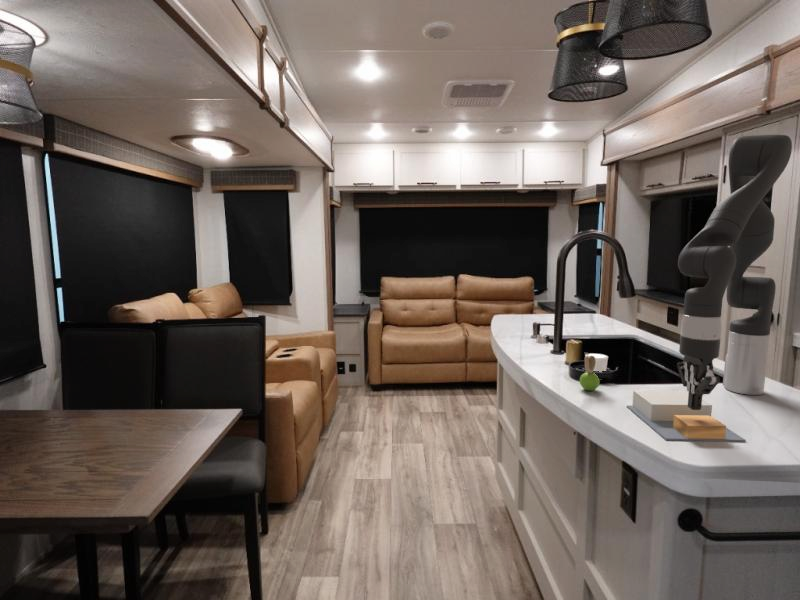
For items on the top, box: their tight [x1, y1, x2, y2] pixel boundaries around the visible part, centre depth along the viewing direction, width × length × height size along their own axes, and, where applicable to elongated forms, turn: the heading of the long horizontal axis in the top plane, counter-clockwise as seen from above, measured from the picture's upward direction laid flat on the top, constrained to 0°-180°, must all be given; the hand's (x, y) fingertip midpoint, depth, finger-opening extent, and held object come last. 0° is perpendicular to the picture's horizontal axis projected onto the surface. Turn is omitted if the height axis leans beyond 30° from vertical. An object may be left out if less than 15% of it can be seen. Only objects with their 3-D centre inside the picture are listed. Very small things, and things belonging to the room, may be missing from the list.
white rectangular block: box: [632, 390, 713, 421], centre depth 114 cm, size 10×14×4 cm
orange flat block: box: [673, 415, 727, 439], centre depth 102 cm, size 6×8×3 cm
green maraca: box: [579, 352, 601, 392], centre depth 132 cm, size 5×6×12 cm
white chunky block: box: [584, 352, 609, 372], centre depth 146 cm, size 7×7×7 cm
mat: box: [626, 405, 747, 443], centre depth 109 cm, size 20×17×1 cm
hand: (694, 408), depth 104 cm, fingers closed
